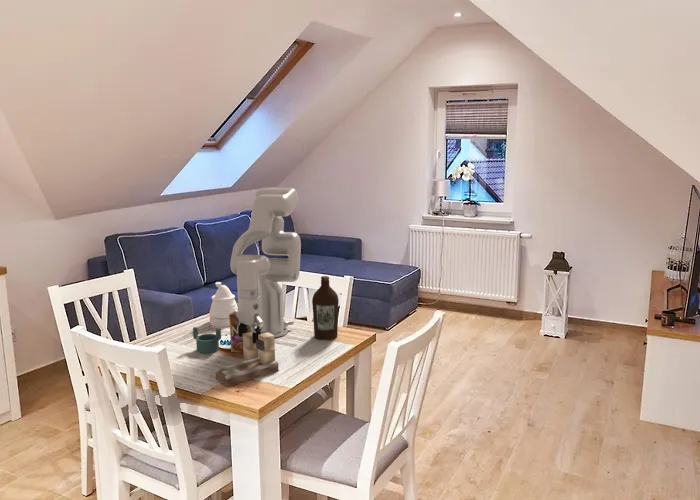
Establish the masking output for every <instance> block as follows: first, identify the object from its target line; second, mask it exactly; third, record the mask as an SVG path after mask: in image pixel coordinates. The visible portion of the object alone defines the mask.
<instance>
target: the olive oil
mask: <svg viewBox="0 0 700 500" xmlns="http://www.w3.org/2000/svg"><path fill="white" fill-rule="evenodd" d="M339 303H340V302H339V296H338V294H337V292H336V291H335V290H334V289H333V288H332V287H331V286H330V276H328V275H323V276H321V277H320V286H319V288H318V289H317V290H316V291H315V292H314V293H313V296H312V299H311V304H312V305H311V306H312V316H313V333H314V334H313V337H314V338H315V339H316V340H319V341H330V340H332V341H333V340H334V339H337V337H338V332H339V331H338V327H339V326H338V324H339V317H338V316H339Z"/></svg>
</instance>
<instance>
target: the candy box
mask: <svg viewBox="0 0 700 500" xmlns="http://www.w3.org/2000/svg"><path fill="white" fill-rule="evenodd" d="M229 320H230V326H229V336H230V352H231V353H238V354H243V337H239V329H238V321H237V316H236V311H234V312H232V313H230V314H229ZM253 324H256V323H253ZM245 325H246V324H245ZM254 327H255V328H256V326H254ZM248 332H253V330H252V327H251V326H248V325H247V333H248Z"/></svg>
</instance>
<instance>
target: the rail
mask: <svg viewBox="0 0 700 500" xmlns="http://www.w3.org/2000/svg"><path fill="white" fill-rule="evenodd" d="M275 345H276V343H275V337H274V335H273V334H271V333H269V332H267V333H263V334H260V335H258V339H257V340H256V348H257V349H259V357H258V358H255V359H251V360H248V361H245V360H244V361H240V362H238V363H237V362H236V363H235V364H231V365H227V366H223V367H219V368H216V369H215V371H214V374H215V380H216V381H219V382H220V384H222V385H225V386H226V387H230V386H234V385H237V384H241V383H243V382H245V381H249V380H253V379H256V378H259V377H262V376H266V375H270V374H272V373H276V372H279V369H280V368H279V361H277V360H276V352H275V351H276V348H275V347H276V346H275Z"/></svg>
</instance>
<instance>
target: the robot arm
mask: <svg viewBox="0 0 700 500" xmlns="http://www.w3.org/2000/svg"><path fill="white" fill-rule="evenodd" d="M298 203H299V193H298V192H297V190H296V189H295V188H293V187H292V188H291V187H290V188H289V187H263V188H259V189H258V190H256V192H255V199H254V201H253V206H252V209H251V210H252V211H251V214H250V215H251V216H250V221H249V226H248V229H247V230H246V231H244V233H242V234H241V235H240V236H239V238H238V239H237V240H236V242H235V243H234V245H233V247H232V253H231V257H230V270H231V272H232V273H233V274H234V275H236V279H237V282H236V284H237V298H238V299H237V306H238V311H237V312H236V316H237V321H238V329H239V337H243V334H244V333H247V325H248V326H251V327H252V330H253V333H252V340H253V343H254V344H255V343H256V340H257V339H258V335H260V334H263V333H267V332H269V333H271V334H273V335H274V338H279V337H284V336H285V335H286V334H288V326H293V325H294V324H295V323H294V320H293V319H291V320H287V319H284V292H283V288H282V287H281V285H280V284H279V283H294V282H297V280H299V278H300V271H301V270H300V269H301V253H302V250H301V249H302V243H301V242H302V241H301V237H300V235H299V234H298V233H296V232H294V231H293V232H292V231H284V226H285V220H284V218H283V217H288V216H290V215H291V214H292V213H293V212H294V210H295V209H296V208H297V206H298ZM260 241H261V251H262V252H263V253H264V254H265V255H269V256H286V257H288V258H279V257H267V256H265V255H262V254H261V255H260V254H244V251H245V250H246V249H247V248H248V247H249V246H251V245H253V244H255V243H257V242H260ZM253 323H255V324H253ZM245 324H246V325H245ZM254 326H255V327H254Z"/></svg>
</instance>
